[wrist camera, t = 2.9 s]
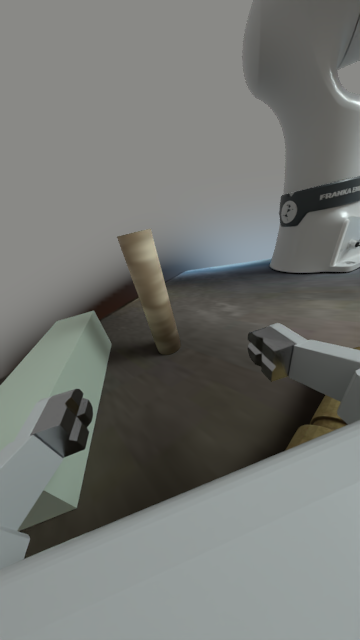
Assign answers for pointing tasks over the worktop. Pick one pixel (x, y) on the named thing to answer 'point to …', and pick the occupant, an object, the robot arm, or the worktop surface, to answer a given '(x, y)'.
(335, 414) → the gavel
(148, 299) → the dowel
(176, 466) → the worktop surface
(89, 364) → the pale mint rectangular block
